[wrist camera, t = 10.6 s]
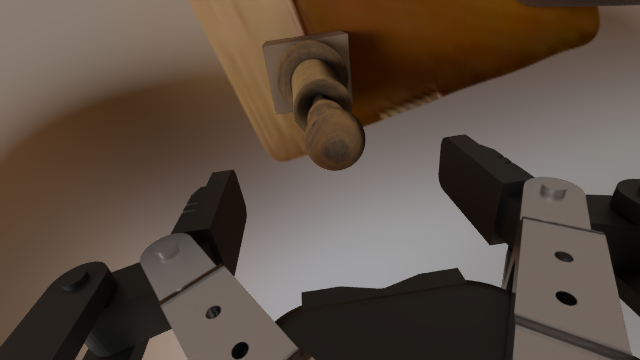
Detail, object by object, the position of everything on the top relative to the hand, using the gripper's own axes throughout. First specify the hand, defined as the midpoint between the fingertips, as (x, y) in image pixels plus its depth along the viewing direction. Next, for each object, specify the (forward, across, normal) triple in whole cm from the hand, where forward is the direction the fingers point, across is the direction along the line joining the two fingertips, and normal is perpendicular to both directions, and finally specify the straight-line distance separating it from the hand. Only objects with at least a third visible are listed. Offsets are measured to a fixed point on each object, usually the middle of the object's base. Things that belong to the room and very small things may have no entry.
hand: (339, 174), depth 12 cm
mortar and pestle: (+20, 0, 0) cm, 20 cm away
